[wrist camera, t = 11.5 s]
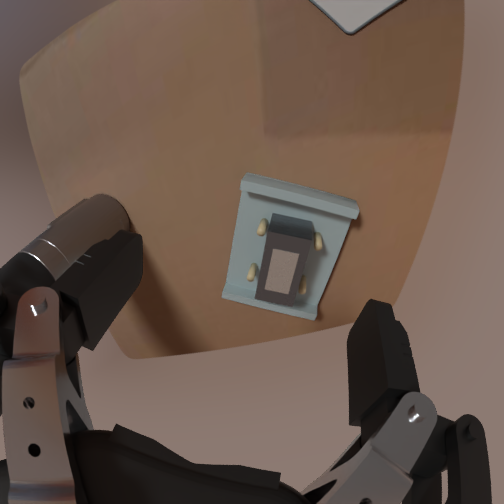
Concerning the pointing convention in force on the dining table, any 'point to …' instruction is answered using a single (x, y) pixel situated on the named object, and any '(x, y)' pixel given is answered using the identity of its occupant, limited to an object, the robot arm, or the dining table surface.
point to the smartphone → (353, 12)
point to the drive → (283, 259)
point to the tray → (255, 232)
